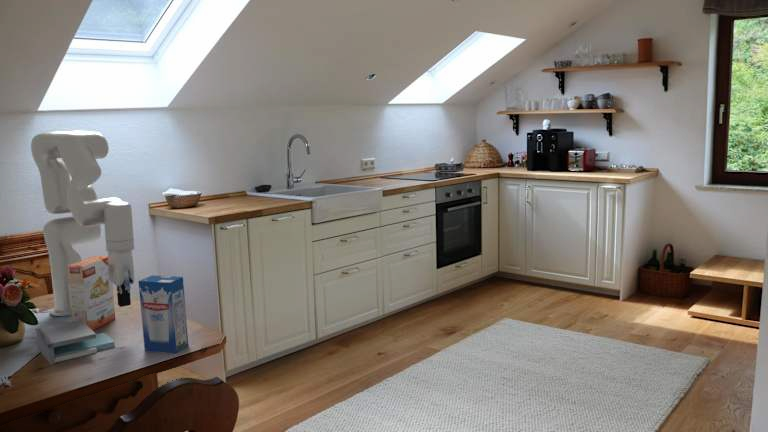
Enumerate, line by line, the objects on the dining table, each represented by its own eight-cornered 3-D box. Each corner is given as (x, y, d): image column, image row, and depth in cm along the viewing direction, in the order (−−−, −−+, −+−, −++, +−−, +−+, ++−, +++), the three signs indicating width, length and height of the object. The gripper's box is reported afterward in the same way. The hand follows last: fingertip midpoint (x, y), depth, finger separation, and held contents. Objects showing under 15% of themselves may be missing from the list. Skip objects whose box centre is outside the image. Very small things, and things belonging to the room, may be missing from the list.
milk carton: (188, 345, 185) (183, 276, 182) (176, 353, 179) (170, 282, 176) (157, 343, 188) (151, 275, 185) (144, 351, 182) (138, 281, 179)
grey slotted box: (38, 348, 186) (35, 329, 185) (83, 338, 193) (81, 319, 193) (50, 364, 174) (47, 344, 173) (97, 353, 181) (95, 333, 180)
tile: (45, 352, 184) (44, 345, 184) (104, 339, 194) (104, 332, 194) (53, 362, 177) (52, 355, 176) (114, 348, 186) (114, 341, 186)
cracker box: (89, 333, 198) (82, 266, 194) (72, 332, 199) (64, 265, 195) (117, 318, 211) (111, 255, 208) (100, 318, 212) (94, 255, 209)
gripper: (99, 241, 193) (104, 301, 197) (114, 252, 181) (118, 315, 185) (125, 238, 197) (129, 296, 201) (141, 248, 186) (145, 309, 189)
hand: (124, 305), depth 193 cm, fingers closed
